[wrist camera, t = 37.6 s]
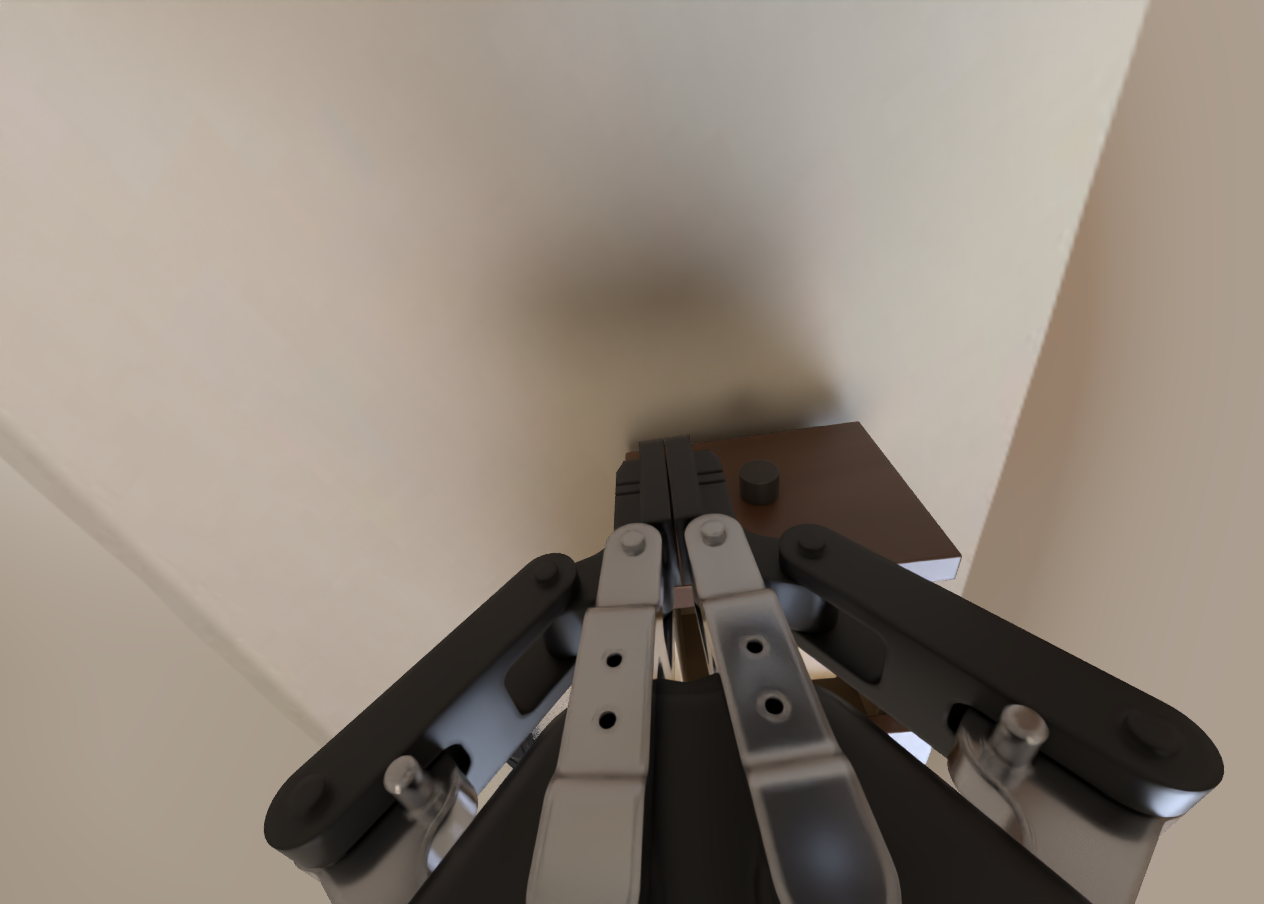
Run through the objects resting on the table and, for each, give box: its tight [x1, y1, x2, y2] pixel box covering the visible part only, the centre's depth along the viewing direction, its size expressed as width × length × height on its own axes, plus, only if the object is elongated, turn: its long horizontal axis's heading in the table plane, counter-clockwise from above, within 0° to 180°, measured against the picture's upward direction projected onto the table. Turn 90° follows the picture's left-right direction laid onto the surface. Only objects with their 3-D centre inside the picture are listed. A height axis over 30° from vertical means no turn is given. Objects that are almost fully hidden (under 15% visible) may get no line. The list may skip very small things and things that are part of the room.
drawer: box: [626, 421, 962, 716], centre depth 23 cm, size 14×11×9 cm
